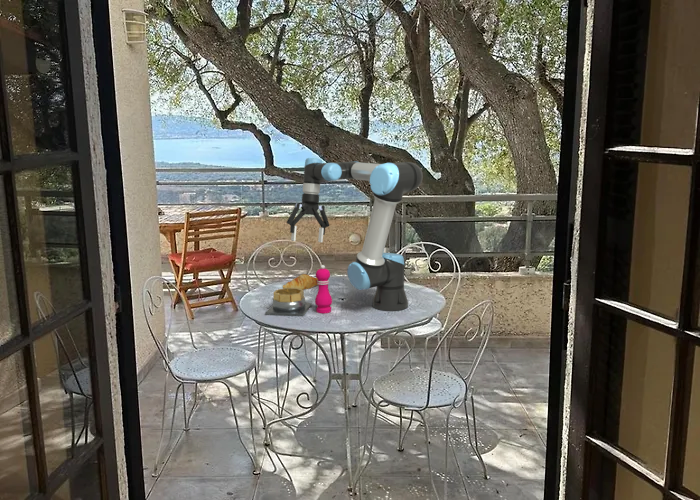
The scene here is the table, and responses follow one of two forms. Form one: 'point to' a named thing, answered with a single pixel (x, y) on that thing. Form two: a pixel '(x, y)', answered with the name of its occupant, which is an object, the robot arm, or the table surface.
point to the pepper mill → (323, 291)
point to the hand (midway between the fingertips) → (306, 241)
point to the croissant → (302, 282)
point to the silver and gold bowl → (289, 303)
